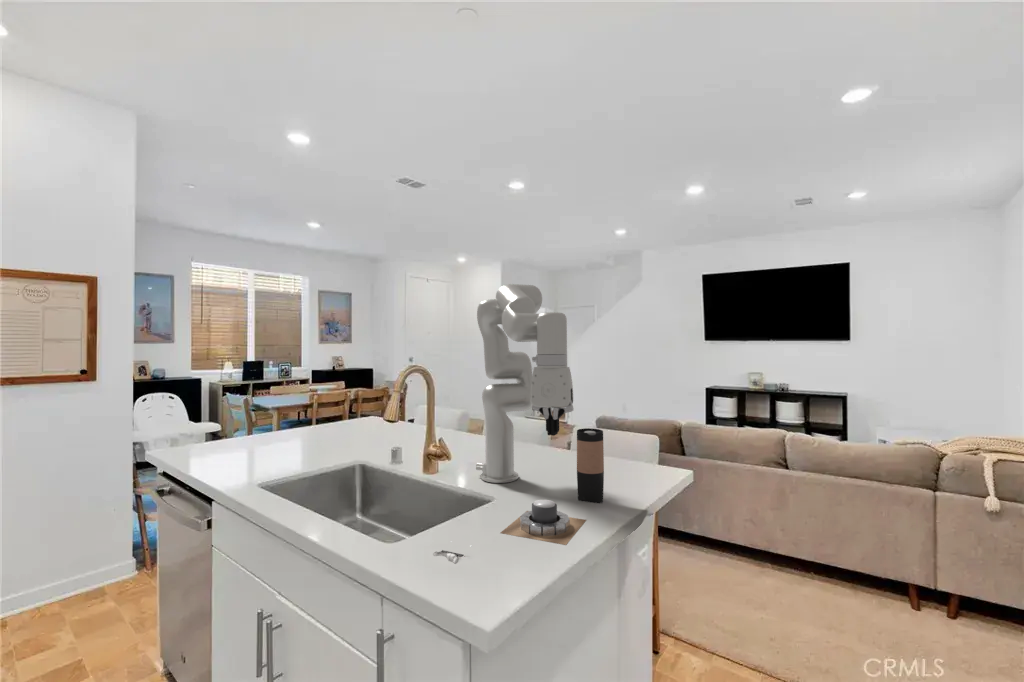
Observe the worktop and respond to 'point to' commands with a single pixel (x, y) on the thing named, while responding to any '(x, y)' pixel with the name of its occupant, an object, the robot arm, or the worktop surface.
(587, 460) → the travel mug
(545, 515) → the cap
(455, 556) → the acanthus leaf ornament
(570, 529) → the board
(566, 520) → the grey segmented ring
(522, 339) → the robot arm
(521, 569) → the worktop surface
